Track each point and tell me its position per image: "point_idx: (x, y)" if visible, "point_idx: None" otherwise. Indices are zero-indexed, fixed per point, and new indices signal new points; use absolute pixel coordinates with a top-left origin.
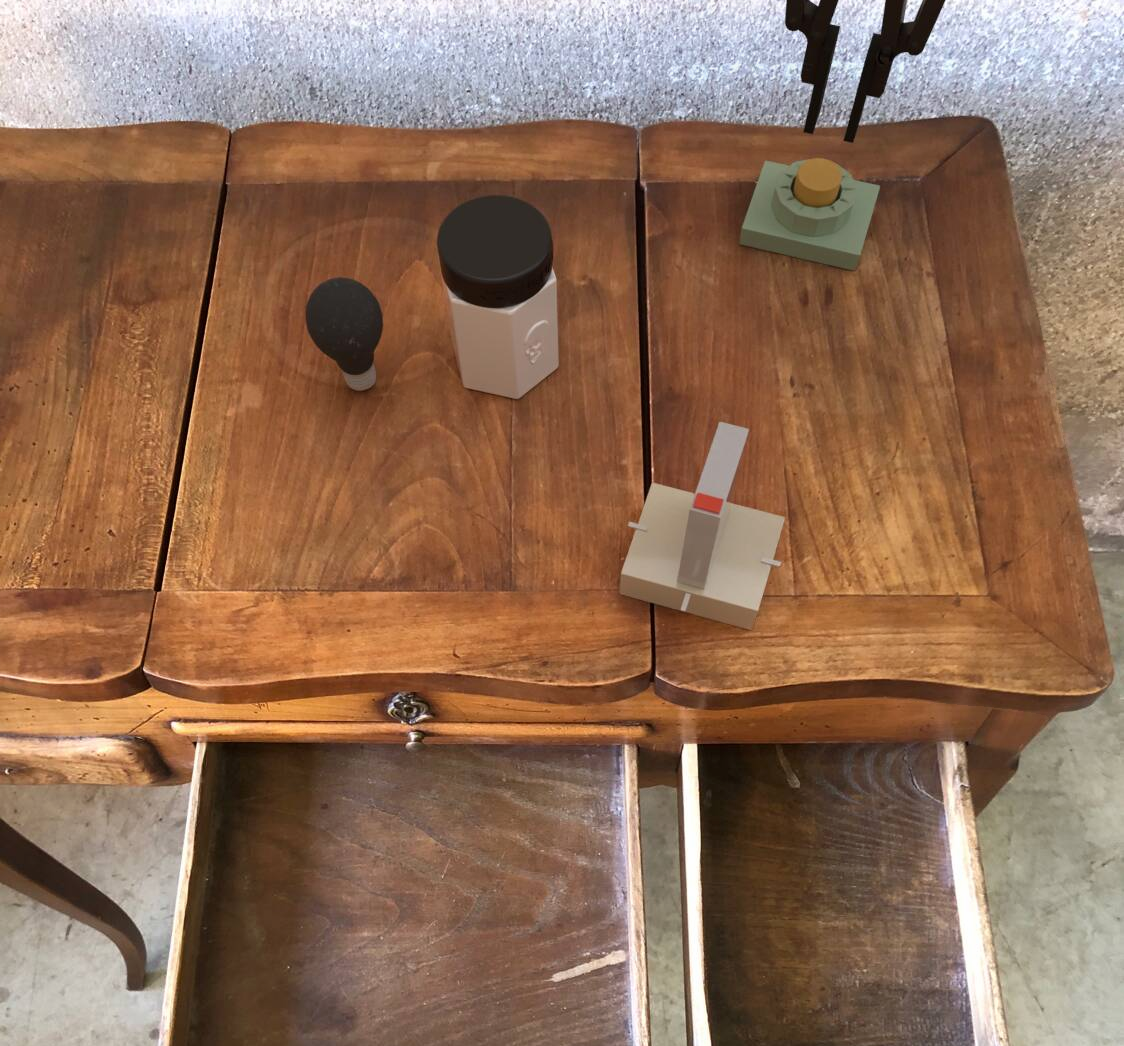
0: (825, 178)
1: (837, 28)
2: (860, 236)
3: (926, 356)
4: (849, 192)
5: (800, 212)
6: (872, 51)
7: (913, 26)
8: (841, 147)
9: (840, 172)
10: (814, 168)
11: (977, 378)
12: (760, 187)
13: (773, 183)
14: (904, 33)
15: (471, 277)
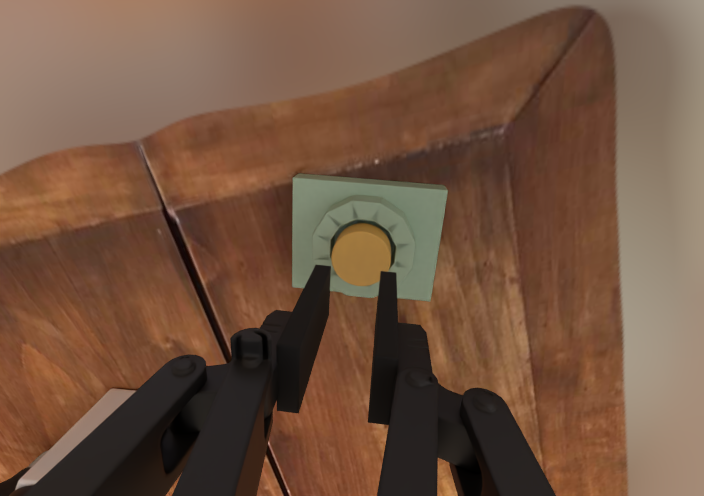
0: (369, 265)
1: (294, 355)
2: (428, 275)
3: (508, 376)
4: (405, 251)
5: (349, 292)
6: (379, 403)
7: (462, 441)
8: (391, 92)
9: (387, 252)
10: (352, 251)
11: (559, 392)
12: (297, 224)
13: (311, 214)
14: (441, 451)
15: None
